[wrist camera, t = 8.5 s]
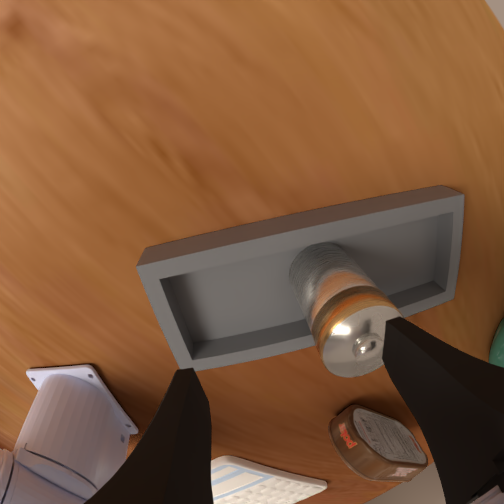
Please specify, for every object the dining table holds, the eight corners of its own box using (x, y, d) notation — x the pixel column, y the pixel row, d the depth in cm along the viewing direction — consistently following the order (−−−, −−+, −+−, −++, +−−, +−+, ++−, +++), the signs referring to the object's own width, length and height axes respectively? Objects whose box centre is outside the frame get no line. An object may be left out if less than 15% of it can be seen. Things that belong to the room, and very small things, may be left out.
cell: (353, 289, 20) (408, 367, 13) (294, 308, 20) (330, 397, 13) (347, 233, 18) (415, 300, 11) (281, 252, 18) (321, 334, 11)
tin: (317, 410, 26) (341, 483, 18) (341, 390, 25) (373, 465, 17) (392, 434, 31) (416, 484, 23) (411, 419, 30) (438, 469, 22)
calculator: (263, 506, 38) (265, 515, 36) (160, 480, 31) (159, 491, 29) (328, 478, 35) (331, 488, 33) (226, 449, 28) (227, 463, 26)
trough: (436, 283, 21) (453, 298, 19) (184, 348, 21) (182, 373, 19) (441, 185, 18) (464, 194, 16) (145, 248, 18) (136, 266, 15)
